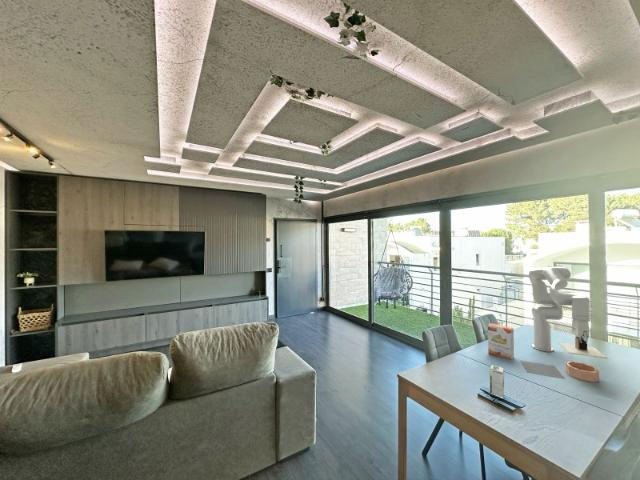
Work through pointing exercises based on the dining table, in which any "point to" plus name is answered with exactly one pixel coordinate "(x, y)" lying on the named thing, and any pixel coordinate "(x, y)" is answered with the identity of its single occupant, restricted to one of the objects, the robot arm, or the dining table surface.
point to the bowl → (582, 371)
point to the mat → (541, 369)
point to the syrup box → (497, 380)
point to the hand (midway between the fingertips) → (581, 347)
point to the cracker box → (501, 341)
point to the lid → (575, 350)
